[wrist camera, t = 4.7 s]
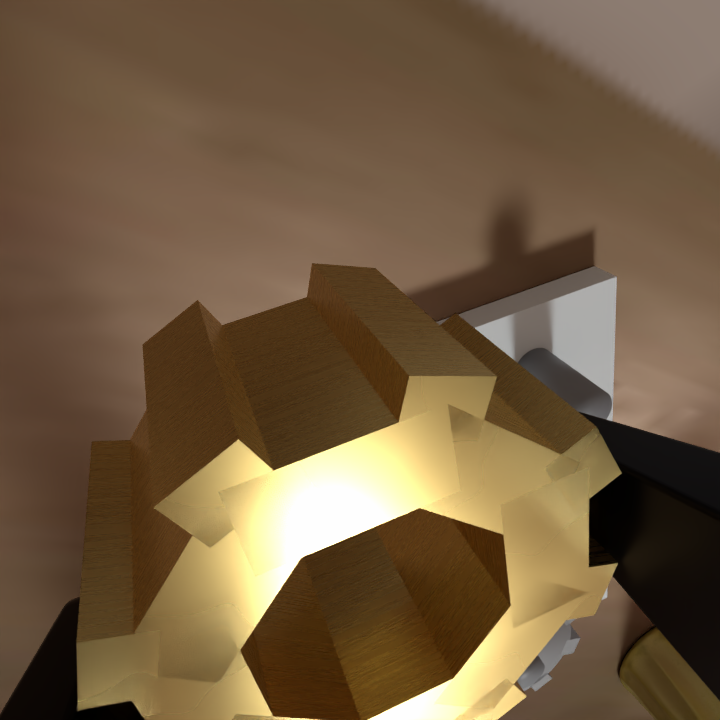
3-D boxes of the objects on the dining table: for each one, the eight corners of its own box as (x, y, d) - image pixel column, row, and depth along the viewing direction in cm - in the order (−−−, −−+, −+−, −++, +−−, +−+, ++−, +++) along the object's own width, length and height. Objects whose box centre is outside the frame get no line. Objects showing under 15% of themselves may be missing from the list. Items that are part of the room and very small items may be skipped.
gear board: (344, 696, 29) (383, 811, 25) (231, 394, 20) (262, 494, 15) (591, 579, 32) (666, 665, 27) (594, 266, 22) (708, 319, 18)
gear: (186, 657, 10) (208, 872, 8) (12, 359, 7) (-56, 548, 4) (498, 520, 11) (614, 666, 9) (465, 213, 8) (629, 293, 6)
